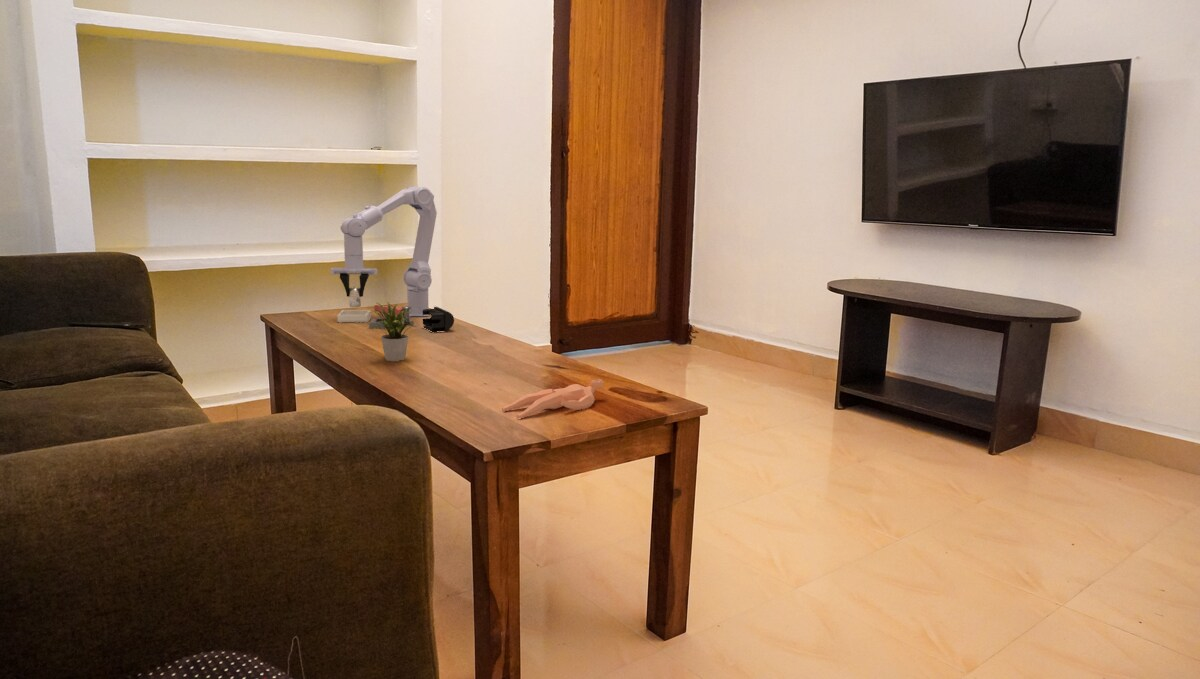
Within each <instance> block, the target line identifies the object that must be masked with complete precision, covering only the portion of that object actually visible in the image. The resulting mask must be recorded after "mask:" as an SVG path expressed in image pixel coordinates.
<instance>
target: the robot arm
mask: <svg viewBox="0 0 1200 679" xmlns="http://www.w3.org/2000/svg"><path fill="white" fill-rule="evenodd" d="M434 200H435V195H434V194H433V193H432V192H431V190H430V189H429V188H427V187H425V186H421V187H420V186H414V185H413V186H412V185H410V186H407V187H406V188H403V189H401V190H400V191H398V192H397V193H396V194H394V195H393V196H391V197H389V198H388V199H386V200H385V201H384V202H381V203H380V204H379V205H378V206H375V205H366V206H365V207H364V210H361V211H360V212H358V213H353V214H352V217H348V218H345V219H344V220H343V221H342V223H341V225H340V231H341V232H342V233H343V246H344V247H343V250H344V267H331V268H330V274H331V275H339V279H340V280H341V283H342V285H343V287H344V290H345V293H346V294H345V295H346V297H348V298H349V288H350V275H359V277H358V278H359V288H360V297H364V291H365V286H366V284H367V281H368V279H369V277H370V275H372V276H377V275H378V268H374V267H373V268H371V267H364V254H363V252H364V250H363V248H364V247H363V245H364V244H363V235H364V234H365V232H366V230H368V229H370V228H372V227H373V226H375V225H376V224H378V223H379V222H381V221H382V219H383V218H384V217H383V216H384V215H386V214H387V213H390V212H391V211H393V210H395V209H397V208H399V207H400V206H402V205H408V206H411V208H413V209H414V210H415V211H416V212H417V214H418V215H419V220H418V226H417V231H416V238H415V243H414V247H413V248H414V249H413V254H412V260H411V262H410V263H409V264H408V265H407V268H406V269H407V270H406V271H405V272H404V274H403V282H404V283H405V285H406V296H407V298H406V300H407V305H406V306H409V307H411V309H410V310H409V313H410V312H411V311H412V310H413V311H412V312H411V313H410V314H409V316H411V317H430V315H423V310H424V309H430V308H429V288H430V287H431V285H432V280H433V278H432V276H431V272H432V268H431V266H430V265H429V259H430V254H431V248H432V243H433V237H434V232H435V225H436V219H437V214H438V212H437V209H436V204H435V201H434ZM417 307H419V308H417ZM415 308H416V309H415ZM414 309H415V310H414Z"/></svg>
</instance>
